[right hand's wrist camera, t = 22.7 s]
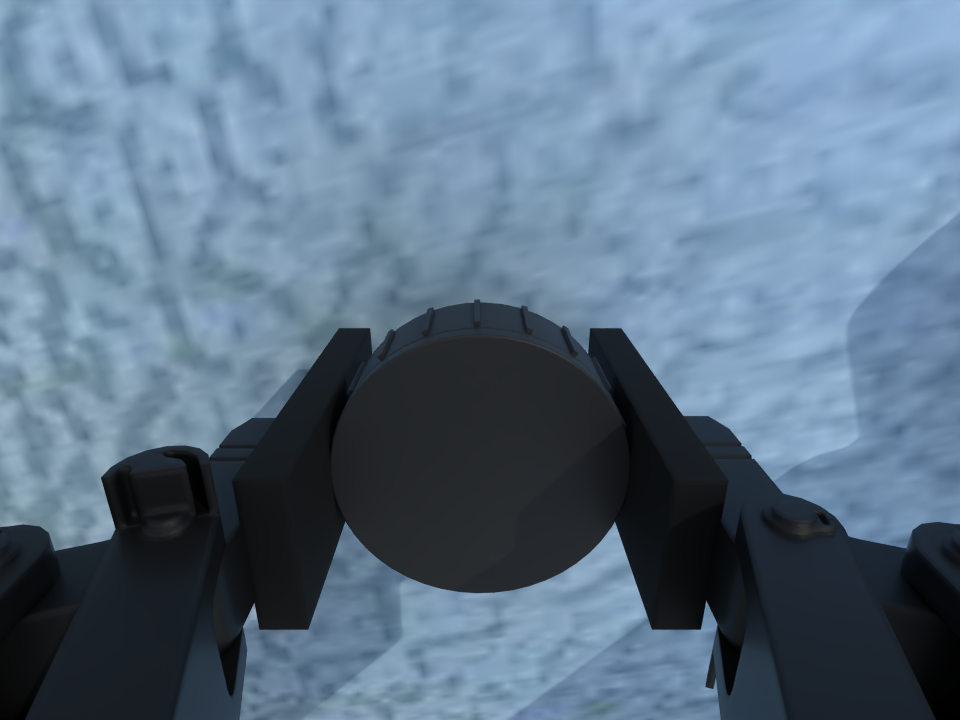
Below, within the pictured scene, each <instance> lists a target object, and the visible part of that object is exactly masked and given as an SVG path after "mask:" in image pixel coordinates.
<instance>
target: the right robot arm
mask: <svg viewBox="0 0 960 720" xmlns="http://www.w3.org/2000/svg"><path fill="white" fill-rule="evenodd" d="M588 355H589V356H590V357H591V359H592V358H593V357H595V358H596V359H597V361H598V363H599V365H600V367H601V369H602V371H603V373H604V375H605V377H606V379H607V380H608V382H609V384H610V386H611V389H610V390H608V391H609V393H610V395H612V397H613V399H614V401H615V403H616V405H617V407H618V409H619V411H620V413H621V415H622V417H623V419H624V421H625V423H626V425H627V428H626V432H627V437H628V441H629V445H630V470H629V479H628V487H627V494H626V498H625V500H624V503H623V505H622V508H621V511H620V513H619V515H618V516H617V518H616V520H615V523H616V526H617V529H618V532H619V534H620V537H621V540H622V543H623V546H624V549H625V552H626V555H627V558H628V561H629V564H630V567H631V569H632V572H633V575H634V578H635V581H636V584H637V587H638V590H639V593H640V596H641V599H642V602H643V604H644V607H645V610H646V613H647V616H648V619H649V622H650V625H651V628H652V630H701V626H702V620H703V615H704V610H705V604H706V601H707V603H708V605H709V607H710V609H711V611H712V613H713V615H714V617H715V619H716V621H717V624H718V625H717V630H716V635H715V640H714V645H713V650H712V655H711V660H710V665H709V670H708V675H707V681H706V687H707V688H712V689H713V688H714V683H715V678H716V681H717V690H718V698H719V707H720V716H721V720H960V524H950V523H942V522H934V523H926V524H921V525H920V526H918V527H917V528H915V529H914V530H913V531H912V534H911V537H910V540H909V543H908V546H907V549H906V548H901V547H896V546H890V545H885V544H880V543H875V542H870V541H865V540H860V539H856V538H852V537H848V535H847V533H846V531H845V529H844V527H843V526H842V525H841V523H840V522H839V521H838V520H837V518H836V517H835V516H833V515H832V514H830V513H829V512H828V511H826V510H825V509H823V508H822V507H820V506H818V505H816V504H814V503H811V502H809V501H807V500H804V499H802V498H798V497H794V496H790V495H786V494H783V493H782V492H781V491H780V490H779V488H778V487H777V486H776V485H775V483H774V482H773V481H772V480H771V479H770V477H769V476H768V475H767V474H766V473H765V471H764V470H763V469H762V468H761V467H760V465H759V464H758V463H757V462H756V461H755V459H752V458H751V455H750V453H749V452H748V451H747V450H746V449H745V447H744V446H741V442H740V441H739V440H738V439H737V438H736V436H735V435H734V434H733V433H732V432H731V430H730V429H729V428H727V427H725V426H724V425H722V424H720V423H719V422H717V421H715V420H714V419H712V418H710V417H709V416H683V415H682V414H681V412H680V411H679V409H678V408H677V407H676V405H675V404H674V402H673V401H672V400H671V398H670V397H669V395H668V394H667V392H666V391H665V390H664V388H663V387H662V385H661V384H660V383H659V381H658V380H657V378H656V377H655V375H654V374H653V373H652V371H651V370H650V368H649V367H648V366H647V364H646V363H645V361H644V360H643V358H642V357H641V356H640V354H639V353H638V351H637V350H636V349H635V347H634V346H633V344H632V343H631V341H630V340H629V339H628V337H627V336H626V334H625V333H624V332H623V330H622V329H621V328H590V338H589V351H588ZM371 356H372V346H371V333H370V328H339V329H338V331H337V332H336V333H335V335H334V336H333V338H332V339H331V341H330V342H329V343H328V345H327V346H326V348H325V349H324V350H323V352H322V353H321V355H320V356H319V358H318V359H317V360H316V362H315V363H314V365H313V366H312V367H311V369H310V370H309V372H308V373H307V375H306V376H305V377H304V379H303V380H302V382H301V383H300V384H299V386H298V387H297V389H296V390H295V392H294V393H293V394H292V396H291V397H290V399H289V400H288V402H287V403H286V404H285V406H284V407H283V409H282V410H281V411H280V413H279V414H278V416H277V417H276V418H252V419H250V420H248V421H247V422H245V423H244V424H242V425H240V426H239V427H237V428H235V429H234V430H232V431H231V432H230V433H229V434H228V436H227V437H226V438H225V439H224V441H223V442H222V443H221V444H220V445H219V448H217V449H216V450H215V451H214V453H213V454H212V455H211V456H210V458H209V456H208V454H207V453H205V452H204V451H203V450H201V449H200V448H195V447H190V446H166V447H161V448H156V449H151V450H147V451H144V452H141V453H138V454H136V455H133V456H130V457H128V458H126V459H124V460H122V461H121V462H119V463H117V464H116V465H114V466H112V467H111V468H110V469H109V470H108V471H107V472H106V473H105V474H104V475H103V476H102V477H101V480H102V483H103V487H104V490H105V494H106V497H107V501H108V504H109V508H110V511H111V515H112V518H113V522H114V525H115V529H116V530H115V532H114V534H113V536H112V538H111V539H110V540H106V541H103V542H98V543H93V544H88V545H83V546H78V547H73V548H68V549H63V550H58V551H55V550H54V547H53V544H52V541H51V538H50V535H49V533H48V532H47V531H45V530H44V529H42V528H41V527H40V526H31V525H16V526H8V527H0V720H239V717H240V709H241V700H242V691H243V682H244V674H245V665H246V656H247V646H246V640H245V635H244V630H243V625H244V623H245V621H246V619H247V617H248V615H249V613H250V611H251V608H252V606H253V604H254V602H255V608H256V613H257V618H258V624H259V629H260V630H308V629H309V626H310V623H311V620H312V617H313V614H314V611H315V608H316V605H317V603H318V600H319V597H320V594H321V591H322V588H323V585H324V582H325V579H326V576H327V573H328V570H329V568H330V565H331V562H332V559H333V556H334V553H335V550H336V547H337V544H338V541H339V538H340V535H341V533H342V530H343V527H344V524H345V519H344V517H343V515H342V513H341V511H340V509H339V507H338V504H337V501H336V498H335V495H334V492H333V484H332V476H331V466H330V451H331V445H332V438H333V435H334V430H335V428H336V425H337V422H338V420H339V418H340V416H341V414H342V412H343V409H344V407H345V405H346V403H347V401H348V399H349V397H350V395H348V394H346V393H347V391H348V389H349V387H350V385H351V383H352V381H353V379H354V377H355V375H356V373H357V371H358V369H359V367H360V365H361V363H362V362H365V363H367V362H368V360H369V359H370V357H371Z"/></svg>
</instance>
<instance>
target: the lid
mask: <svg viewBox="0 0 960 720" xmlns="http://www.w3.org/2000/svg"><path fill="white" fill-rule="evenodd" d="M610 389H611V386H610V384H609V382H608V380H607V379H606V377H605V375H604V373H603V371H602V369H601V367H600V365H599V363H598V361H597V359H596V358H595V357H593V358H592V359H591V357H590V356H589V355H588V353H587V352H586V351H585V350H584V349H583V347H582V346H581V345H580V344H579V343H578V342H577V341H576V340H575V339H574V338H573V337H572V336H571V334H570V332H569V330H568V328H567V327H565V326H563V327H562V328H560V327H559V326H557V325H556V324H555V323H553V322H551V321H549V320H547V319H545V318H543V317H542V316H540V315H538V314H535V313H532V312H529V311H528V309H527V307H525V306H522V307H521V308H517V307H513V306H508V305H503V304H494V303H480V300H474V303H465V304H459V305H452V306H447V307H444V308H440V309H437V310H434V309H433V307H432V308H429V309H428V310H427V313H426V314H424V315H421V316H419V317H417V318H415V319H413V320H411V321H410V322H408V323H406V324H405V325H403V326H402V327H400V328H399V329H397V330H396V331H395V332H394V330H393V329H391V330H390V331H389V332H388V334H387V336H386V338H385V340H384V341H383V343H382V344H381V345H380V346H379V347H378V348H377V349H376V350H375V351H374V353H373V354H372V356H371V357H370V359H369V360H368V362H367V363H365V362H362V363H361V365H360V367H359V369H358V371H357V373H356V375H355V377H354V379H353V381H352V383H351V385H350V387H349V389H348V391H347V393H346V394H348V395H350V397H349V399H348V401H347V403H346V405H345V407H344V409H343V412H342V414H341V416H340V418H339V420H338V422H337V425H336V428H335V430H334V435H333V438H332V445H331V451H330V466H331V476H332V484H333V492H334V495H335V498H336V501H337V504H338V507H339V509H340V511H341V513H342V515H343V517H344V519H345V521H346V523H347V524H348V526H349V527H350V529H351V530H352V532H353V533H354V535H355V536H356V537H357V538H358V539H359V541H360V542H361V543H362V544H363V545H364V546H365V547H366V548H367V549H368V550H369V551H370V552H371V553H372V554H373V555H374V556H376V557H377V558H378V559H379V560H381V561H382V562H383V563H385V564H386V565H388V566H389V567H391V568H392V569H394V570H396V571H397V572H399V573H401V574H403V575H405V576H407V577H409V578H411V579H414V580H416V581H418V582H421V583H423V584H427V585H430V586H434V587H437V588H441V589H446V590H451V591H457V592H469V593H495V592H502V591H510V590H515V589H519V588H523V587H527V586H531V585H534V584H537V583H539V582H542V581H545V580H547V579H549V578H551V577H554V576H556V575H558V574H560V573H562V572H563V571H565V570H567V569H568V568H570V567H571V566H573V565H575V564H576V563H577V562H579V561H580V560H581V559H582V558H584V557H585V556H586V555H587V554H589V553H590V552H591V551H592V550H593V549H594V548H595V547H596V546H597V545H598V544H599V543H600V541H601V540H602V539H603V538H604V537H605V535H606V534H607V532H608V531H609V530H610V528H611V527H612V525H613V524H614V522H615V520H616V518H617V516H618V515H619V513H620V511H621V508H622V505H623V503H624V500H625V498H626V494H627V487H628V479H629V470H630V445H629V441H628V437H627V432H626V428H627V425H626V423H625V421H624V419H623V417H622V415H621V413H620V411H619V409H618V407H617V405H616V403H615V401H614V399H613V397H612V395H610V393H609V391H608V390H610Z"/></svg>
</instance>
